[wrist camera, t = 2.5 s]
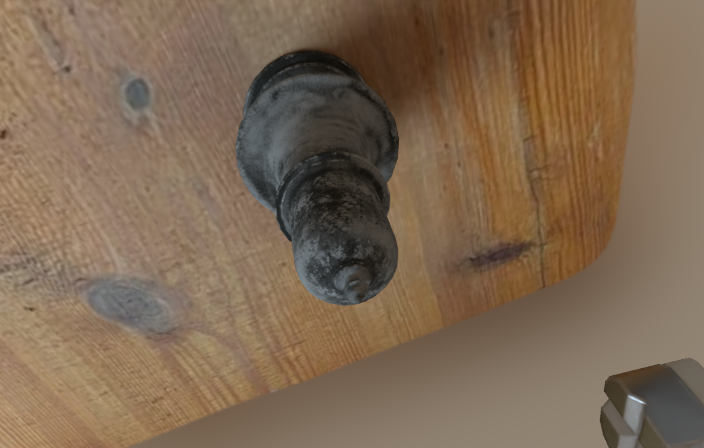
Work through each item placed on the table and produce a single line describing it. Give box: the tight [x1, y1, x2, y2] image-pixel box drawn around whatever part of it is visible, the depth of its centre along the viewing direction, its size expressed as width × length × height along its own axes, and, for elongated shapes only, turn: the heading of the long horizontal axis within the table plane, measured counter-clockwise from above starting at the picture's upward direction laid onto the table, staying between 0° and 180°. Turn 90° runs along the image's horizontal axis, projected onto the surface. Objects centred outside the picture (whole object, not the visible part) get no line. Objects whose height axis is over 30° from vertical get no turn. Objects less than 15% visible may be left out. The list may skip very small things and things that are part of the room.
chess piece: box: [236, 51, 399, 305], centre depth 20 cm, size 6×6×12 cm
